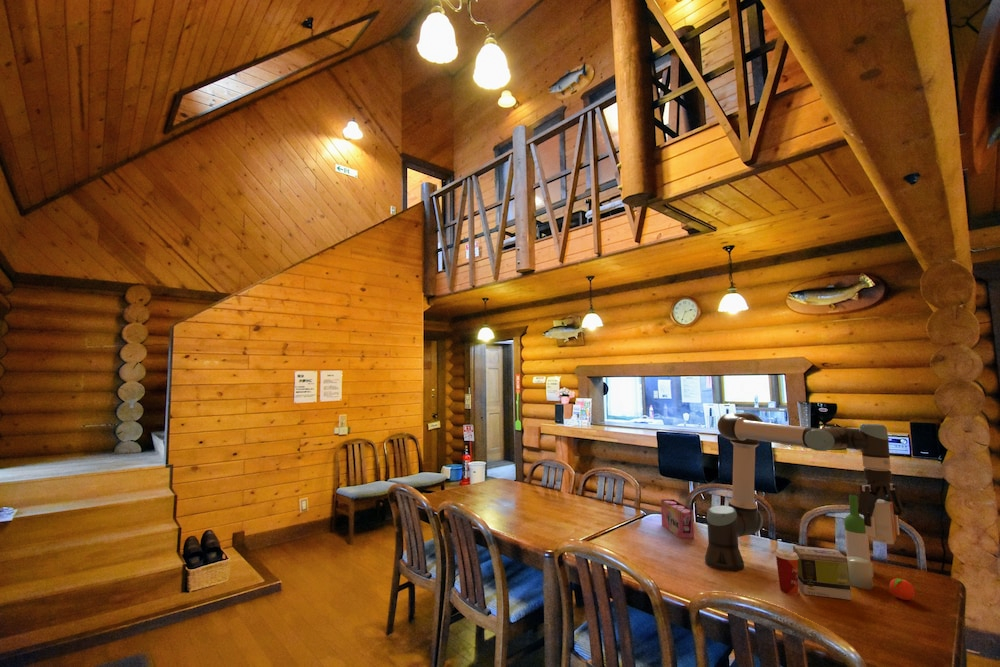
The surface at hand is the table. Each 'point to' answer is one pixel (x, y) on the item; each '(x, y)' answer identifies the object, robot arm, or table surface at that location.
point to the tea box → (823, 572)
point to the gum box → (677, 518)
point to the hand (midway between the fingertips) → (882, 534)
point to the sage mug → (860, 572)
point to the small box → (884, 522)
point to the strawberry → (902, 589)
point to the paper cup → (787, 571)
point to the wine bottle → (856, 532)
